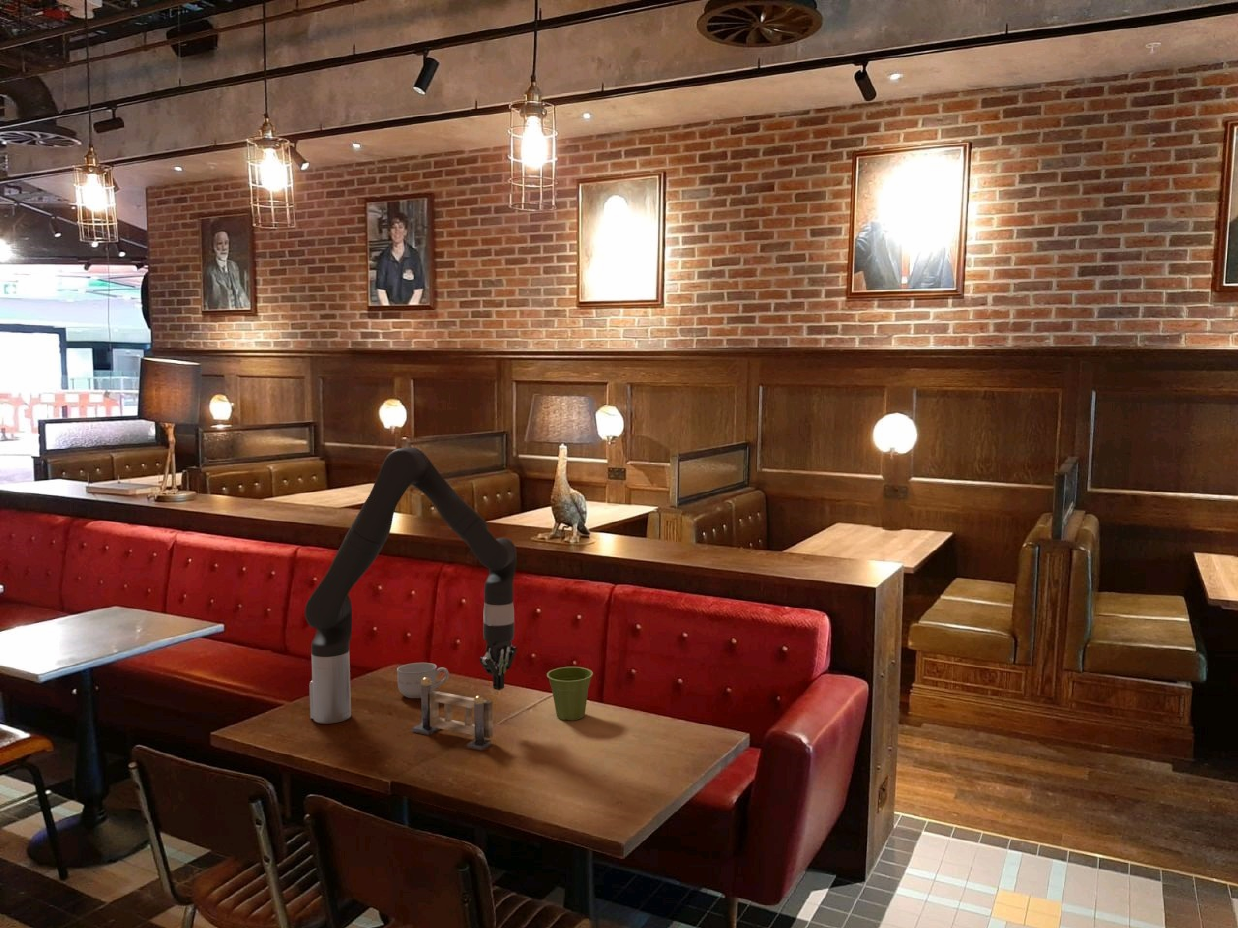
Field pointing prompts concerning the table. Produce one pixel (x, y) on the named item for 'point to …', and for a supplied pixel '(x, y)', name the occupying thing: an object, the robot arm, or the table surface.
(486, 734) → the gate
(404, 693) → the teacup
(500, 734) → the table surface
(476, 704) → the latch post
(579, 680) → the plant pot
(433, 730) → the hinge post
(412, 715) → the table surface
